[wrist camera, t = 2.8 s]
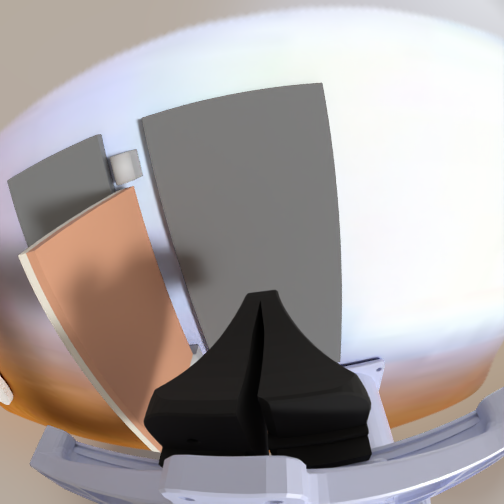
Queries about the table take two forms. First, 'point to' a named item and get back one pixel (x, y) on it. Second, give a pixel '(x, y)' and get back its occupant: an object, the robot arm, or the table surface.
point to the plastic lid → (5, 392)
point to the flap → (111, 305)
